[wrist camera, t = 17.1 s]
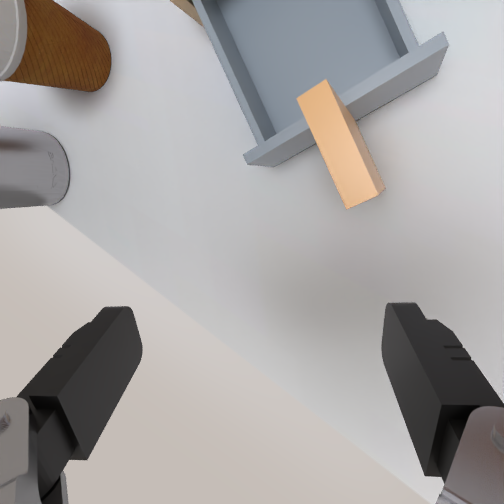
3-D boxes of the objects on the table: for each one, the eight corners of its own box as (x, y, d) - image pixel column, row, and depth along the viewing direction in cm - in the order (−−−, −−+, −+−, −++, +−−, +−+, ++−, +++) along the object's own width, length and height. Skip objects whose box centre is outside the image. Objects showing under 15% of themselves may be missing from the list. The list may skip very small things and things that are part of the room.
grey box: (182, -35, 30) (52, -164, 18) (324, -181, 24) (258, -508, 12) (301, 226, 30) (245, 255, 19) (470, 150, 24) (535, 124, 13)
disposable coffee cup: (135, 36, 34) (12, -31, 23) (105, 123, 37) (-13, 100, 27) (73, -4, 36) (-67, -84, 25) (51, 82, 39) (-80, 45, 29)
